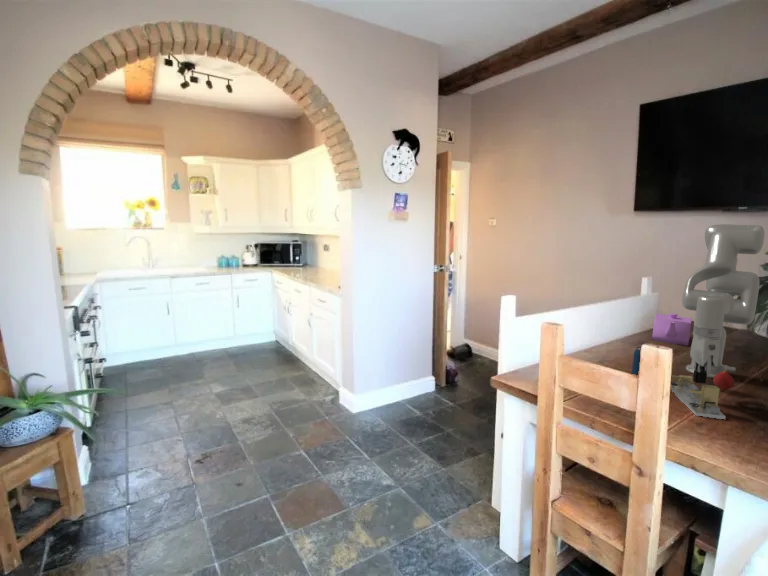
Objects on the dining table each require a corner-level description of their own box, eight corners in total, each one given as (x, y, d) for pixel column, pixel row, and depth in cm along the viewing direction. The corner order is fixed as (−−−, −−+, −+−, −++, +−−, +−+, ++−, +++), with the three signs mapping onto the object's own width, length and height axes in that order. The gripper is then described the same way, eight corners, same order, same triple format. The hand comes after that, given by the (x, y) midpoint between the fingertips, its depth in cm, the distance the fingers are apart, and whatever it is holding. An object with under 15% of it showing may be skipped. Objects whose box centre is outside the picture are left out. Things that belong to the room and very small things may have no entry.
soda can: (650, 383, 156) (654, 353, 154) (629, 378, 160) (633, 349, 158) (653, 377, 161) (657, 348, 159) (632, 373, 165) (636, 345, 163)
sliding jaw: (713, 405, 135) (716, 385, 133) (716, 408, 132) (720, 388, 131) (685, 401, 137) (688, 382, 136) (688, 405, 134) (691, 385, 133)
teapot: (651, 343, 205) (654, 316, 202) (653, 332, 225) (656, 307, 222) (688, 349, 196) (692, 321, 194) (687, 337, 216) (691, 311, 214)
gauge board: (690, 387, 152) (691, 375, 152) (724, 419, 128) (727, 406, 127) (664, 384, 155) (666, 372, 154) (694, 415, 130) (696, 402, 129)
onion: (707, 387, 153) (711, 366, 151) (723, 387, 152) (727, 367, 151) (719, 393, 147) (723, 373, 145) (736, 394, 147) (740, 373, 145)
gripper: (731, 339, 130) (722, 392, 133) (709, 326, 144) (702, 374, 147) (703, 337, 132) (695, 390, 136) (684, 324, 146) (678, 372, 150)
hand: (698, 382), depth 142 cm, fingers closed
